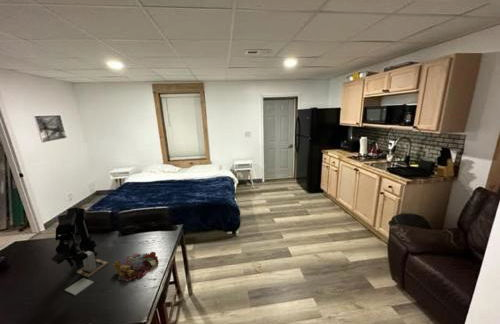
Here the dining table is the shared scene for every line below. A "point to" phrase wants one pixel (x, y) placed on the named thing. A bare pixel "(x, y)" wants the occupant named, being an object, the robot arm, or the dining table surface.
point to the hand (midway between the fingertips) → (75, 267)
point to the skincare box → (89, 262)
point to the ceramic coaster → (79, 286)
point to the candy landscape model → (135, 266)
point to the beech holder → (94, 270)
